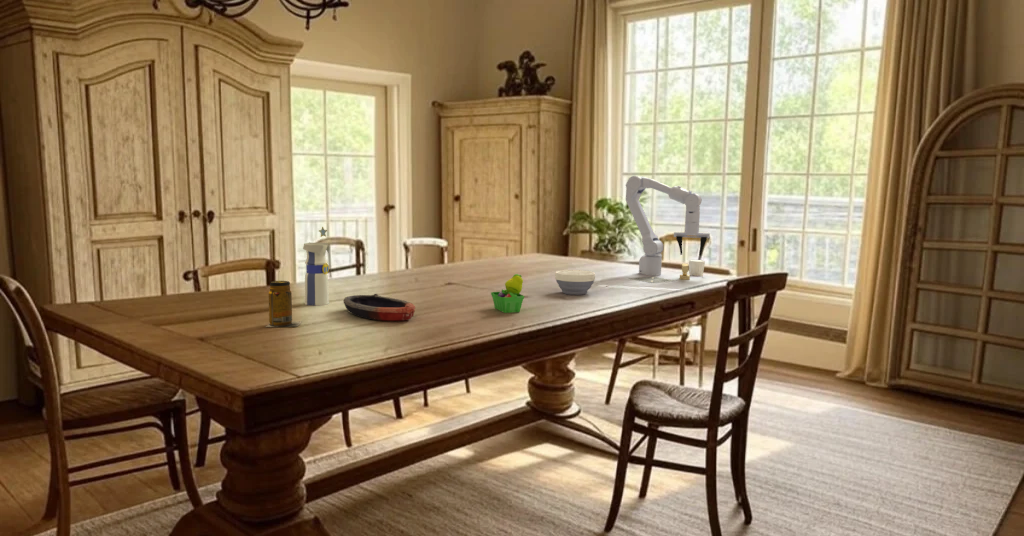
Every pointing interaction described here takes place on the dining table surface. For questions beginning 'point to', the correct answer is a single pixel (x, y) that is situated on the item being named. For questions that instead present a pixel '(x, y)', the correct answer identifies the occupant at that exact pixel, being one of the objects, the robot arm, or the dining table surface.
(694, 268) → the beige cylinder
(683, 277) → the t key
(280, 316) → the condiment
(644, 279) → the cover plate
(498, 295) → the fruit basket
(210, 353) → the dining table surface
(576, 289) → the bowl
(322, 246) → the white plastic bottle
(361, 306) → the dish
